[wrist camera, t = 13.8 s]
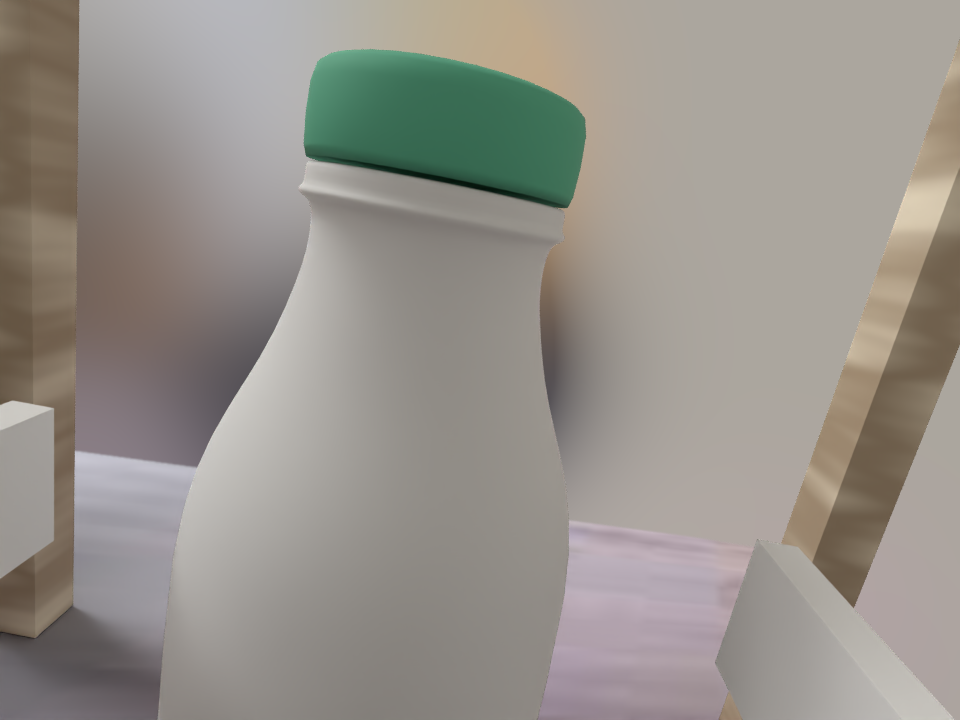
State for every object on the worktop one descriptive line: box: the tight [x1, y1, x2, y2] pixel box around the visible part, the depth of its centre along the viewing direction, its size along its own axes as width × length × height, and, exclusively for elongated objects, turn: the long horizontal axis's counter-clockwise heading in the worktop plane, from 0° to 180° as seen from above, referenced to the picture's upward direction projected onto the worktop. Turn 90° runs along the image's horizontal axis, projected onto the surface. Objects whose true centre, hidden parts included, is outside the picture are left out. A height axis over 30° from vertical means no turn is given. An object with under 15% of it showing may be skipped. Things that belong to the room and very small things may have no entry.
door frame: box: [0, 0, 960, 720], centre depth 19 cm, size 32×2×33 cm, turn 87°
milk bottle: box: [158, 49, 586, 720], centre depth 12 cm, size 8×8×20 cm
